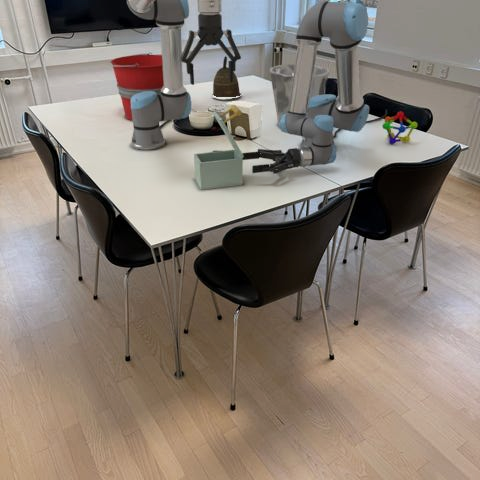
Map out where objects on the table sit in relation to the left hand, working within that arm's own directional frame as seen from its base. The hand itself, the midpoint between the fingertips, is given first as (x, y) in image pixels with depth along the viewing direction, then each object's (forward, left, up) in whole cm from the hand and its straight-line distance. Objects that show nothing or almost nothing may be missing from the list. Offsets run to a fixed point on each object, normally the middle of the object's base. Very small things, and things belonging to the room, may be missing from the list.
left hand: (211, 82), depth 152 cm
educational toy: (-56, +78, -37) cm, 103 cm away
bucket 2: (-77, +30, -37) cm, 91 cm away
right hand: (-6, +12, -31) cm, 34 cm away
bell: (-129, -14, -37) cm, 135 cm away
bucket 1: (-84, -52, -37) cm, 105 cm away
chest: (-1, +2, -37) cm, 37 cm away
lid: (-2, +5, -19) cm, 20 cm away
